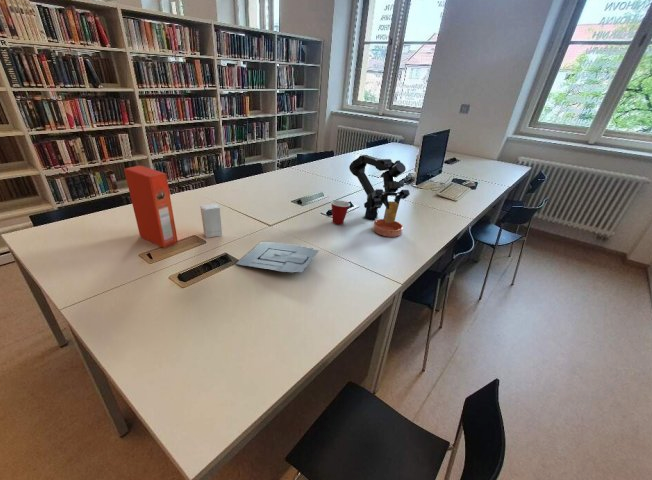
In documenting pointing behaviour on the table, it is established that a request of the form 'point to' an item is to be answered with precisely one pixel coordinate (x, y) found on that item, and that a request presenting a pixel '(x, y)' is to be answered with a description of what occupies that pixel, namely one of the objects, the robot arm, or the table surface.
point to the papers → (279, 257)
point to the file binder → (152, 205)
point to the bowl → (387, 228)
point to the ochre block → (391, 212)
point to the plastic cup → (339, 211)
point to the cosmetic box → (211, 220)
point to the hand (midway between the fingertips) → (392, 209)
